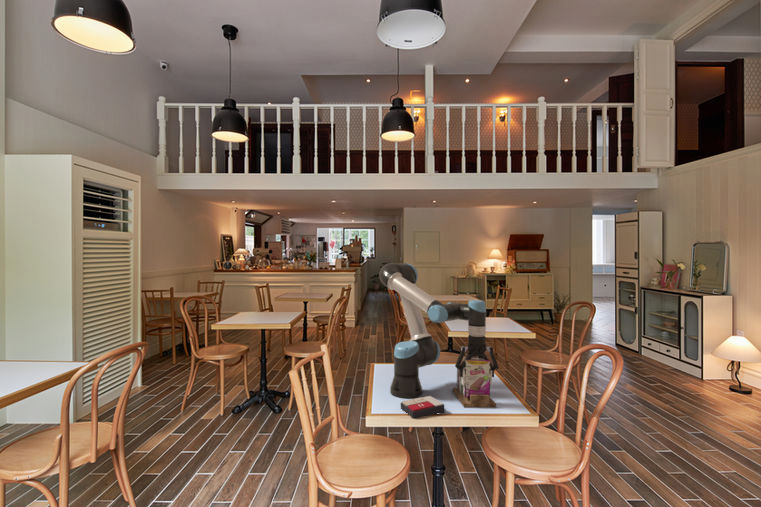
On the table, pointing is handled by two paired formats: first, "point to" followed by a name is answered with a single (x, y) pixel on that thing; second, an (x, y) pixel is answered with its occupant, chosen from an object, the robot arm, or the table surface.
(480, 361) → the candy bar box
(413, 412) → the black red box
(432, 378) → the table surface
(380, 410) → the table surface
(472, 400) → the book rack
